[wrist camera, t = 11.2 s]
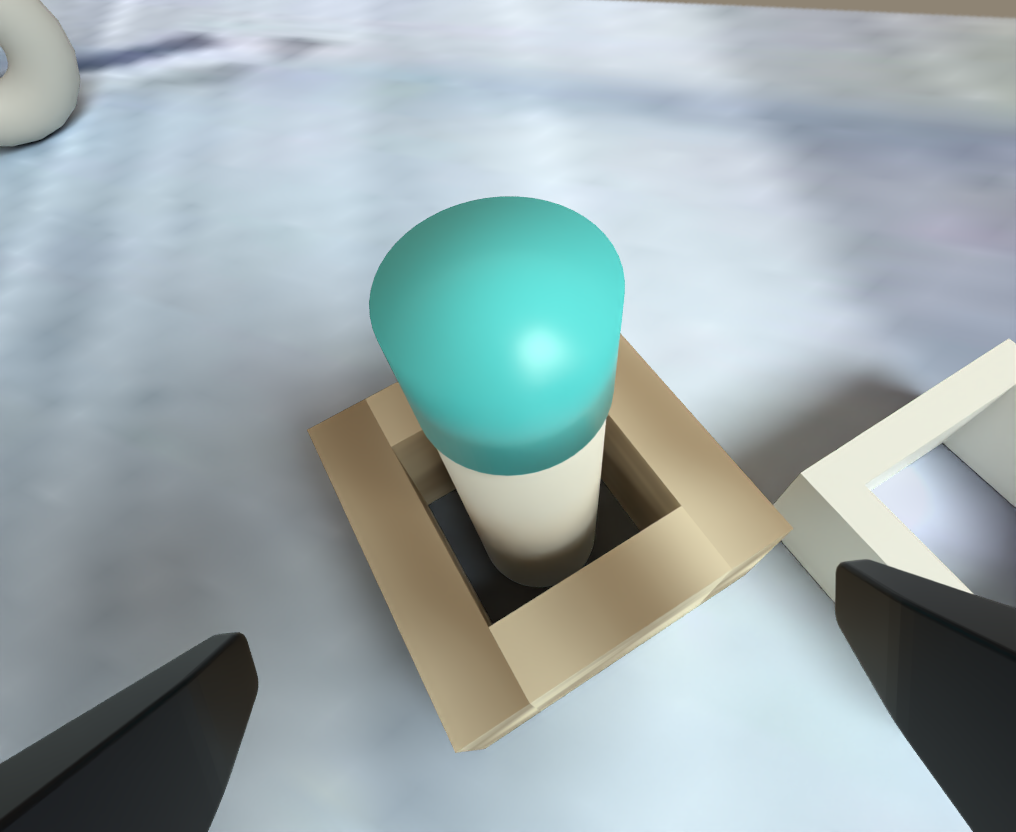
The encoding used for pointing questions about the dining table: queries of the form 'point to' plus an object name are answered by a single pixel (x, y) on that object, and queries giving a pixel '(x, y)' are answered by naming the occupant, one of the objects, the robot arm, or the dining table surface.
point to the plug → (510, 368)
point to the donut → (34, 73)
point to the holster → (889, 449)
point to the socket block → (577, 599)
